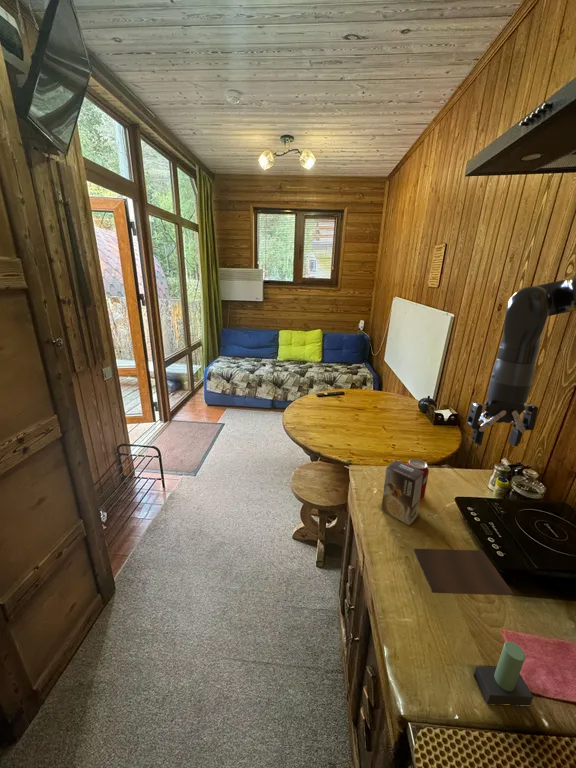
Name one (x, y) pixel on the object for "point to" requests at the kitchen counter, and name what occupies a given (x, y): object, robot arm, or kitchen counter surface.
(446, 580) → the board
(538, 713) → the kitchen counter surface
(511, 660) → the green post on base
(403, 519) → the coffee box
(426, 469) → the soda can
